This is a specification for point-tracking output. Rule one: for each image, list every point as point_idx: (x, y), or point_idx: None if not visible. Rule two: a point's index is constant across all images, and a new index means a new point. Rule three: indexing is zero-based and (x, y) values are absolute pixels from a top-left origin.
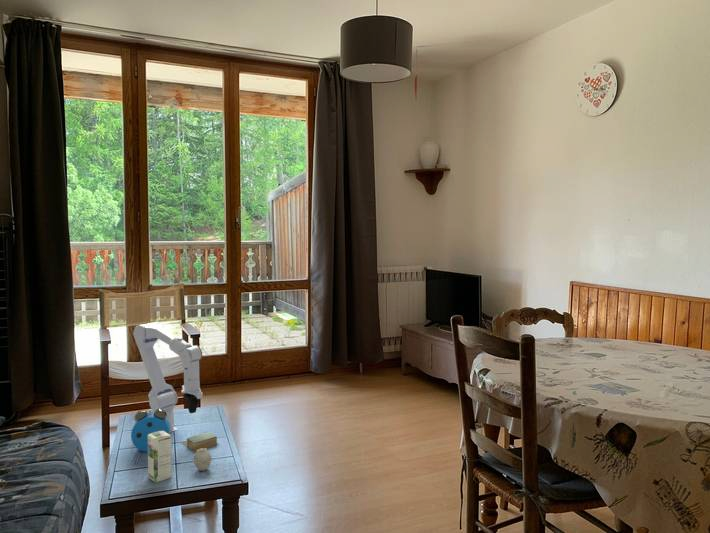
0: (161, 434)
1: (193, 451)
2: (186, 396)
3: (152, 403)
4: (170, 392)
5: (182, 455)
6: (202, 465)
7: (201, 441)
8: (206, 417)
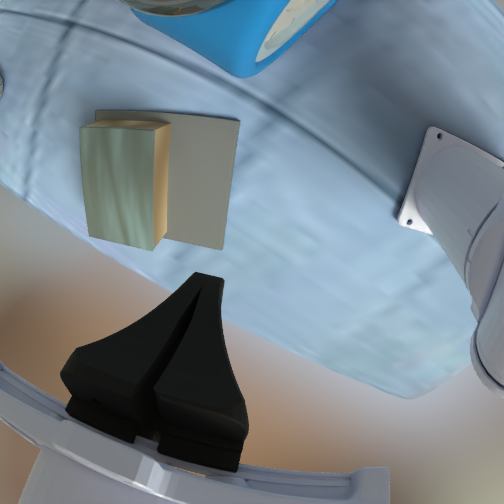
0: None
1: (99, 114)
2: (99, 387)
3: None
4: None
5: (109, 65)
6: None
7: (83, 164)
8: (387, 355)
